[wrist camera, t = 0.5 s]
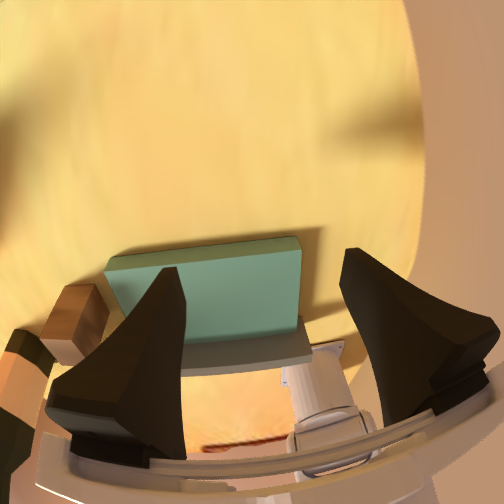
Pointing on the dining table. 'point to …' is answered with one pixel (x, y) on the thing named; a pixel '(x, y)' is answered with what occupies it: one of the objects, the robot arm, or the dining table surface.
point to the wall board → (227, 303)
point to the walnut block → (75, 324)
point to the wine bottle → (20, 400)
